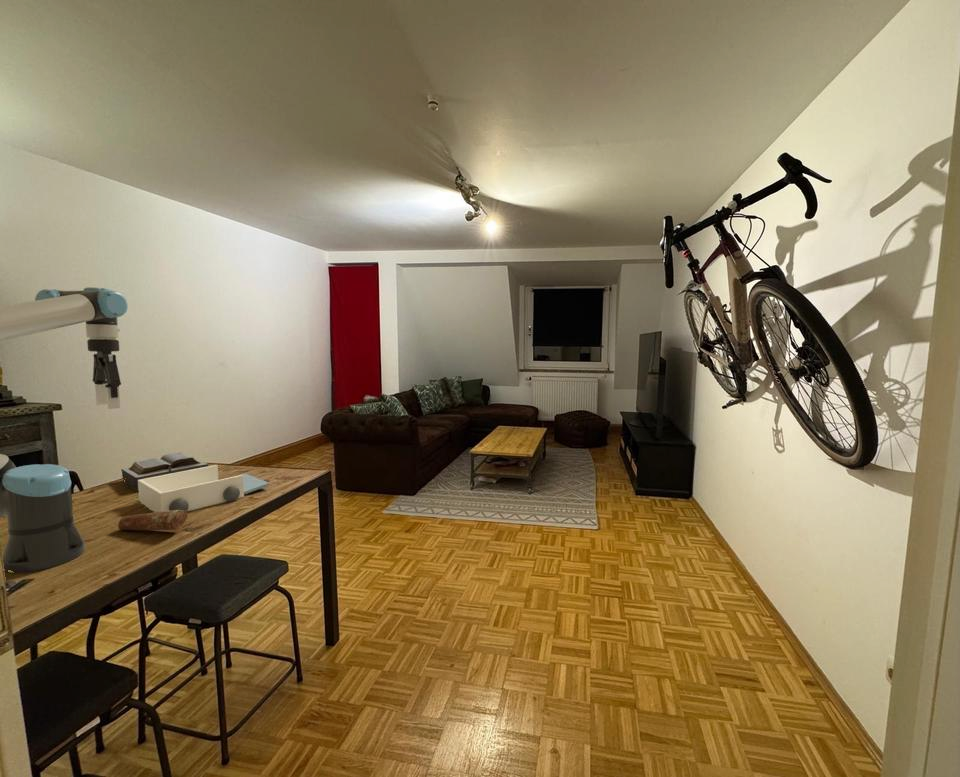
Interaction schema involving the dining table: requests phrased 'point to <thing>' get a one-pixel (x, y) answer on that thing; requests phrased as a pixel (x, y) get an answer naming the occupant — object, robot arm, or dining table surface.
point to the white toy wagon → (189, 490)
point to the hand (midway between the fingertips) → (108, 406)
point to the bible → (159, 467)
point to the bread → (154, 521)
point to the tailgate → (252, 483)
